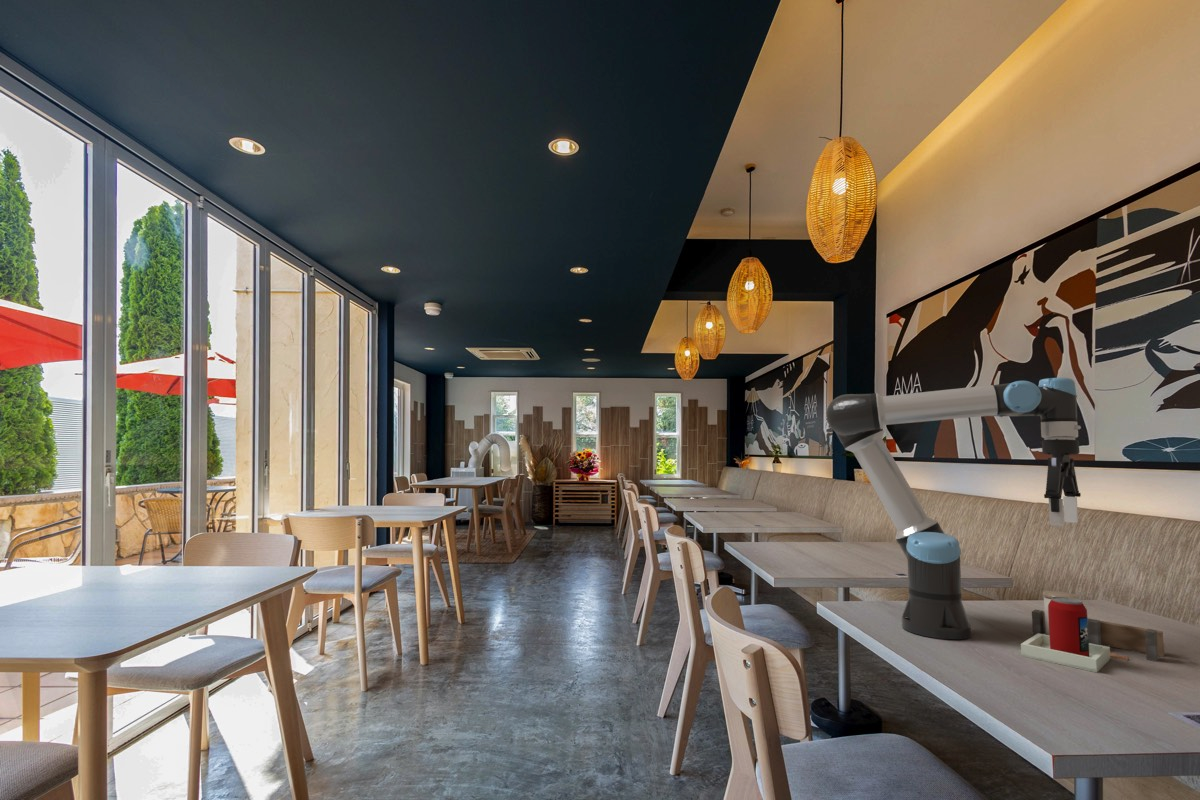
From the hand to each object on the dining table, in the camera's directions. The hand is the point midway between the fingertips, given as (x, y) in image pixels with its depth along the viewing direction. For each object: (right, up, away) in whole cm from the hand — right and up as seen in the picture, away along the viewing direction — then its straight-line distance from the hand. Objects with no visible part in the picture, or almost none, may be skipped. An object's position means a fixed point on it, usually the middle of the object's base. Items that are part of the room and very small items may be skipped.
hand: (1064, 524), depth 153 cm
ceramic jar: (-7, -26, -9) cm, 28 cm away
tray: (-15, -25, -20) cm, 35 cm away
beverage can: (-15, -24, -21) cm, 36 cm away
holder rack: (-3, -26, -13) cm, 29 cm away
